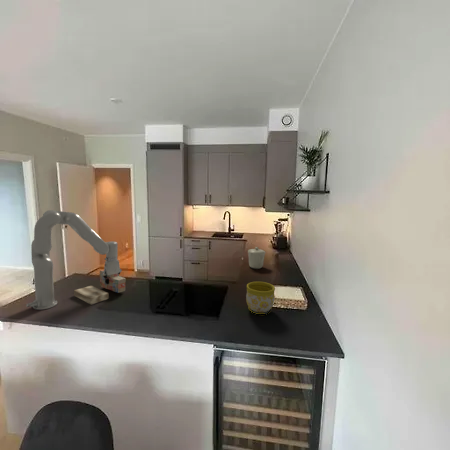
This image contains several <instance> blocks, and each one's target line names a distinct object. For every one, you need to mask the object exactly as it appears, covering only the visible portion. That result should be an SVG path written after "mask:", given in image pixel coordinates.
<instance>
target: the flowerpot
mask: <svg viewBox="0 0 450 450" xmlns="http://www.w3.org/2000/svg"><path fill="white" fill-rule="evenodd" d="M275 290H276V287H275V286H274V285H273V284H271V283H270V282H265V281H252V282H248V283H247V284H246V295H245V297H246V298H245V300H246V304H247V306H248V310H249V311H251V312H250V313H252V312H253V311H254V312H253V313H256V312H258V313H256V314H265V313H264V312H267V311H269V310H270V309H271V310H272V308H273V306H274V304H275V303H274V302H275ZM252 310H253V311H252ZM253 313H252V314H253ZM256 314H255V315H256Z"/></svg>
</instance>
